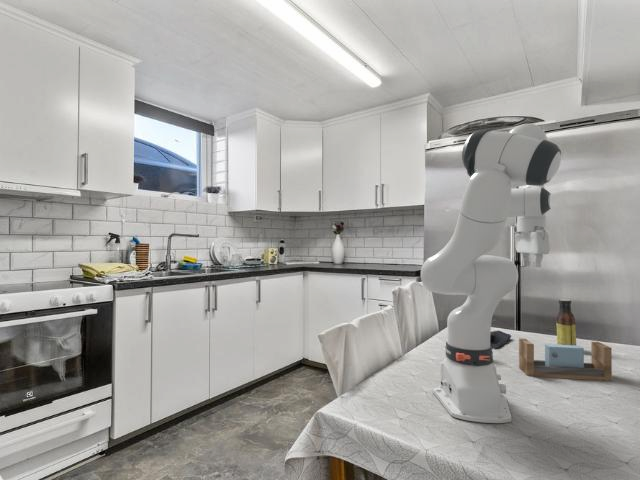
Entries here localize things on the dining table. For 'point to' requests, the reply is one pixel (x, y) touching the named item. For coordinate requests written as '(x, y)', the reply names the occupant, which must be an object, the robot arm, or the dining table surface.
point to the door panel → (564, 355)
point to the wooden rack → (591, 371)
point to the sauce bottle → (565, 324)
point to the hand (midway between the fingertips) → (531, 266)
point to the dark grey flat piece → (498, 339)
